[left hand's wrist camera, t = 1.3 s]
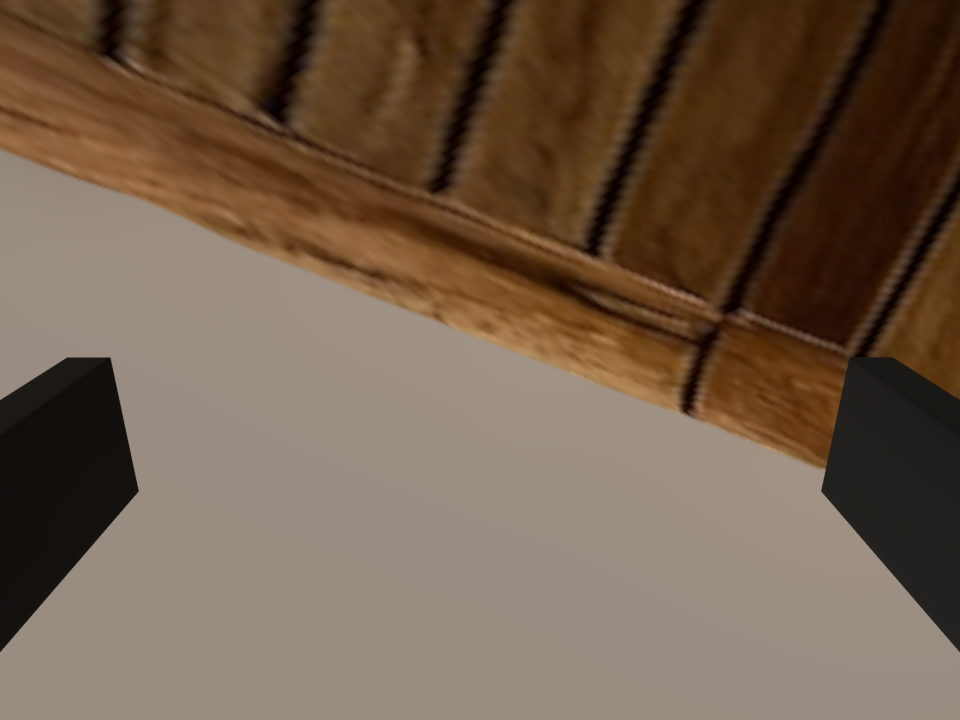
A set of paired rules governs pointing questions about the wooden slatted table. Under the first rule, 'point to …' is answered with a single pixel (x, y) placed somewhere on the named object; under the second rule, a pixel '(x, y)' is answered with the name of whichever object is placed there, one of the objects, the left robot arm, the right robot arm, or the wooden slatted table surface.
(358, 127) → the wooden slatted table surface
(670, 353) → the wooden slatted table surface
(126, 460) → the left robot arm
